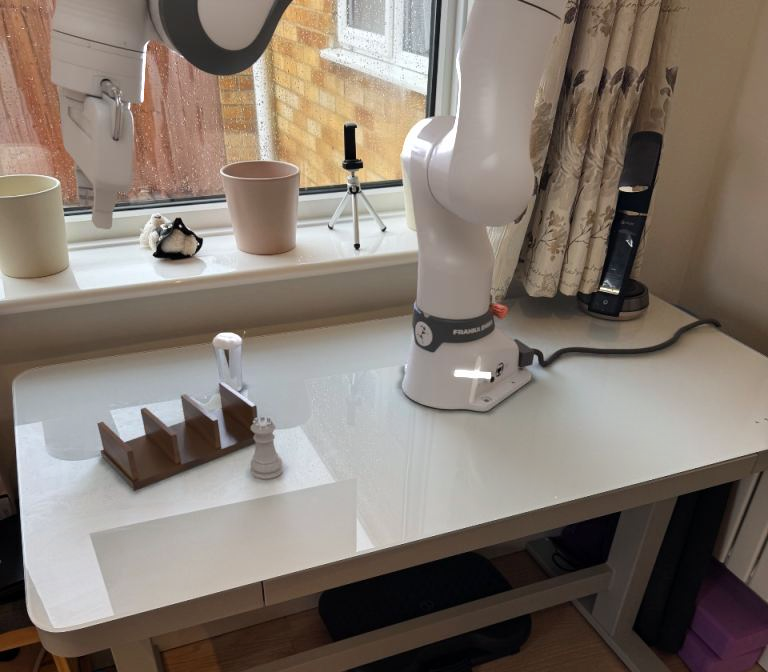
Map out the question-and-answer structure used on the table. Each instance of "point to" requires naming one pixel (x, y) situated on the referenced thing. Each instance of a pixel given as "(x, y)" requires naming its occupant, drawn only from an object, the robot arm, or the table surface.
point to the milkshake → (229, 358)
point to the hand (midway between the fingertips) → (93, 215)
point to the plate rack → (181, 439)
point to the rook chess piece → (265, 450)
